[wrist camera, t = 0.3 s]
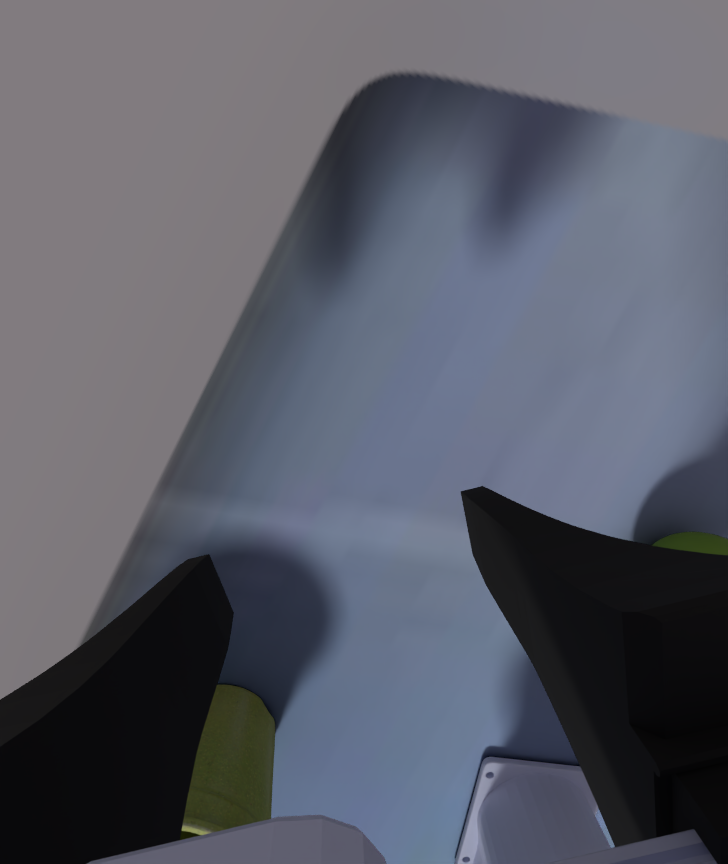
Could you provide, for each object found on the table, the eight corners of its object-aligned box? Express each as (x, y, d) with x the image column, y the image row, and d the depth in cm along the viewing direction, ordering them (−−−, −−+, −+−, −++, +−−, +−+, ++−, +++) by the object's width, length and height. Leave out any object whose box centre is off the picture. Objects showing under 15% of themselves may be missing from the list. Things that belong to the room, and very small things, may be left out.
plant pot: (162, 640, 24) (59, 803, 16) (321, 677, 25) (304, 852, 17) (134, 766, 26) (29, 971, 18) (282, 797, 27) (249, 1007, 19)
